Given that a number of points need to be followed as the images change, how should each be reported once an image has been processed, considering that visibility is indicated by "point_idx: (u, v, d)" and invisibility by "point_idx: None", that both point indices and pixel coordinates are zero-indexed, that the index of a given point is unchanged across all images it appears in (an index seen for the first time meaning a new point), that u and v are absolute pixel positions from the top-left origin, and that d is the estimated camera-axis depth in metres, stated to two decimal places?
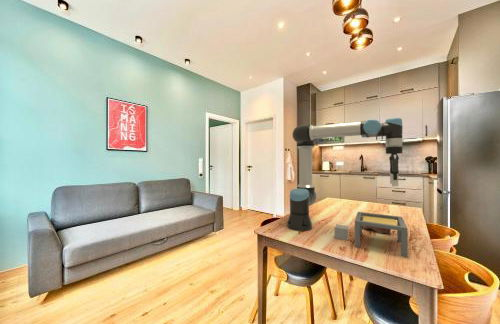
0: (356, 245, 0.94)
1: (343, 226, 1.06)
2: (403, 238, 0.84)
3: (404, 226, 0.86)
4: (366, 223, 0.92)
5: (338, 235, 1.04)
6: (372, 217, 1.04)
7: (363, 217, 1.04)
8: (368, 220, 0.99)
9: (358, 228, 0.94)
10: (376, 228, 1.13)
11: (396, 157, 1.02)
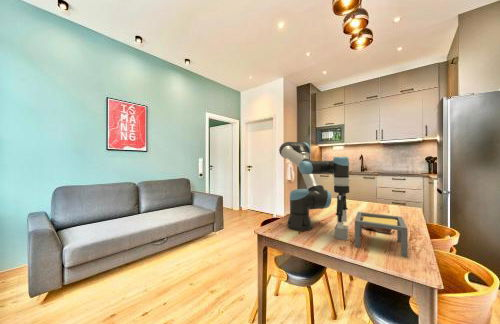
0: (356, 245, 0.94)
1: (343, 226, 1.06)
2: (403, 238, 0.84)
3: (404, 226, 0.86)
4: (366, 223, 0.92)
5: (338, 235, 1.04)
6: (372, 217, 1.04)
7: (363, 218, 1.04)
8: (368, 221, 0.99)
9: (358, 228, 0.94)
10: (377, 228, 1.13)
11: (340, 198, 1.00)
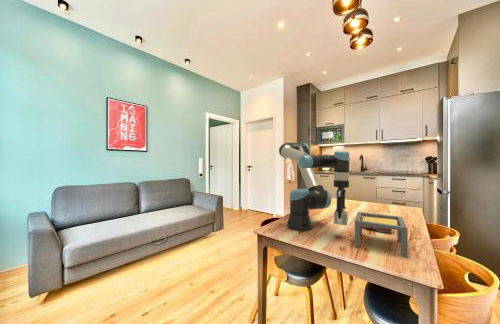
0: (356, 245, 0.94)
1: None
2: (403, 238, 0.84)
3: (404, 226, 0.86)
4: (366, 223, 0.92)
5: None
6: (372, 217, 1.04)
7: (363, 218, 1.04)
8: (368, 221, 0.99)
9: (358, 228, 0.94)
10: (377, 228, 1.14)
11: (340, 196, 1.01)
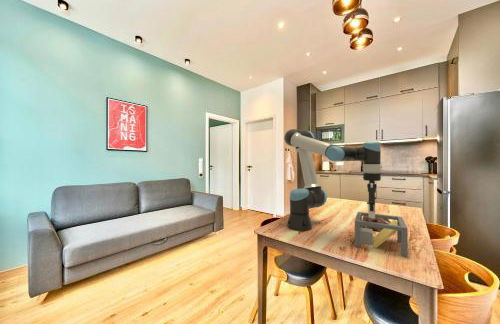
0: (356, 245, 0.94)
1: None
2: (403, 238, 0.84)
3: (404, 226, 0.86)
4: (366, 223, 0.92)
5: (367, 240, 0.98)
6: (379, 232, 1.02)
7: None
8: (377, 239, 0.97)
9: (358, 228, 0.94)
10: (378, 227, 1.14)
11: (372, 186, 0.93)
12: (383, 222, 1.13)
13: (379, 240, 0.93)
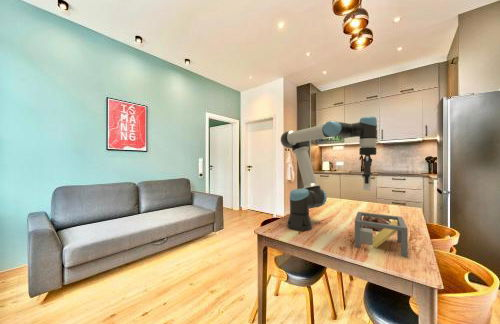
0: (356, 245, 0.94)
1: None
2: (403, 238, 0.84)
3: (404, 226, 0.86)
4: (366, 223, 0.92)
5: (367, 240, 0.98)
6: (379, 232, 1.02)
7: None
8: (377, 239, 0.97)
9: (358, 228, 0.94)
10: None
11: (368, 159, 0.95)
12: (384, 222, 1.13)
13: (379, 240, 0.93)
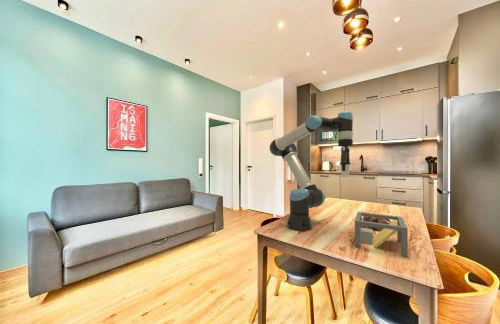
0: (356, 245, 0.94)
1: None
2: (403, 238, 0.84)
3: (404, 226, 0.86)
4: (366, 223, 0.92)
5: (367, 240, 0.98)
6: (379, 232, 1.02)
7: None
8: (377, 239, 0.97)
9: (358, 228, 0.94)
10: None
11: (344, 149, 1.07)
12: (384, 222, 1.14)
13: (379, 240, 0.93)
